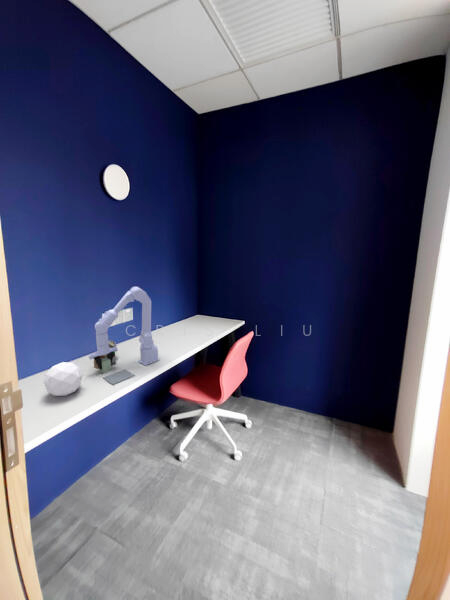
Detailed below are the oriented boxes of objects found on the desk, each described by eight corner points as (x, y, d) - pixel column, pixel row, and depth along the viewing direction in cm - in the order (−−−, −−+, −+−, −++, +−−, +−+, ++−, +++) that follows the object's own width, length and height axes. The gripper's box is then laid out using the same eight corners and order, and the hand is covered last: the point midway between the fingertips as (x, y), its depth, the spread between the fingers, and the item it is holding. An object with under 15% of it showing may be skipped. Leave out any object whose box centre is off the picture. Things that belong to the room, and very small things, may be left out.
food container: (122, 357, 154) (120, 341, 151) (115, 361, 148) (113, 345, 146) (105, 354, 157) (103, 339, 155) (97, 358, 151) (96, 342, 149)
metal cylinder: (113, 361, 147) (113, 355, 147) (117, 363, 145) (116, 357, 144) (106, 363, 144) (106, 357, 144) (110, 366, 142) (109, 359, 141)
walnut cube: (100, 364, 144) (100, 357, 143) (105, 366, 142) (104, 359, 141) (94, 367, 141) (93, 360, 140) (98, 368, 139) (98, 362, 138)
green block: (107, 367, 140) (106, 357, 139) (111, 369, 138) (110, 359, 136) (99, 370, 137) (98, 360, 136) (103, 372, 134) (102, 362, 133)
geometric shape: (56, 405, 115) (34, 380, 113) (86, 381, 126) (66, 358, 124) (61, 403, 105) (36, 376, 103) (93, 377, 115) (71, 352, 113)
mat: (125, 369, 138) (125, 369, 138) (135, 375, 131) (135, 375, 131) (102, 378, 129) (102, 377, 128) (112, 385, 122) (112, 384, 122)
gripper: (112, 338, 142) (114, 360, 145) (85, 345, 131) (87, 369, 134) (118, 341, 138) (120, 364, 141) (91, 349, 127) (93, 374, 130)
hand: (105, 367), depth 137 cm, fingers open, 4 cm apart
